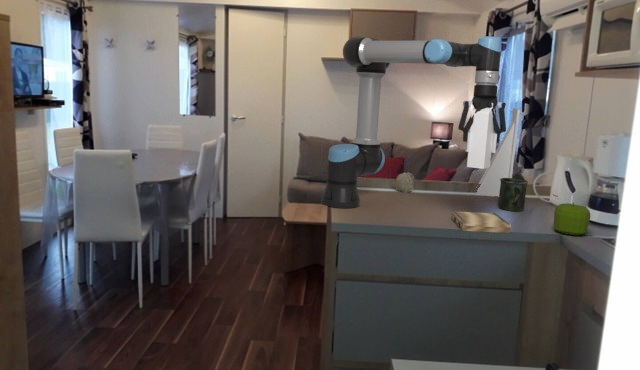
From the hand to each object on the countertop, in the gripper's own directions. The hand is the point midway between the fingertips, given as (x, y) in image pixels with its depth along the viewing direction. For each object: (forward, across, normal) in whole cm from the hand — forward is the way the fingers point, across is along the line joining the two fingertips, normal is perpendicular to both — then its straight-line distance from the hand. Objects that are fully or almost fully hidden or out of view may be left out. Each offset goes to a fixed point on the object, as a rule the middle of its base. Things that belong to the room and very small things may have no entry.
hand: (479, 151), depth 181 cm
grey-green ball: (+26, -17, +58) cm, 66 cm away
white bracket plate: (+26, +25, +64) cm, 73 cm away
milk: (+5, 0, 0) cm, 5 cm away
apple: (+27, +32, -3) cm, 42 cm away
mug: (+26, +24, +31) cm, 47 cm away
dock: (+26, +2, 0) cm, 26 cm away
